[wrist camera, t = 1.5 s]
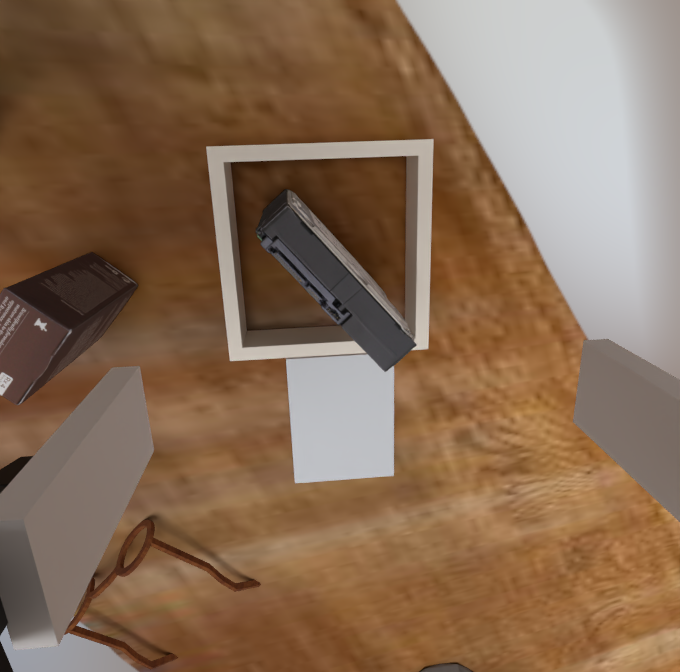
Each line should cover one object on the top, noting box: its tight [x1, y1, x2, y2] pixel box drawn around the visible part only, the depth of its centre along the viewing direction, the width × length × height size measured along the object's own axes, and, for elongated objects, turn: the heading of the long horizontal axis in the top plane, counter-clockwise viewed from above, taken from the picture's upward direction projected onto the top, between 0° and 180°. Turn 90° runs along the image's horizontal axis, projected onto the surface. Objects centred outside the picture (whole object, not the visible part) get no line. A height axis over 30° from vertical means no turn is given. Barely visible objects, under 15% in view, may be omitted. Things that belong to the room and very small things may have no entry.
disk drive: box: [256, 189, 417, 372], centre depth 33 cm, size 10×3×15 cm, turn 42°
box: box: [0, 252, 138, 405], centre depth 34 cm, size 6×4×12 cm
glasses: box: [64, 519, 261, 669], centre depth 48 cm, size 13×13×5 cm
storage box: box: [206, 139, 434, 361], centre depth 38 cm, size 15×15×4 cm
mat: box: [286, 353, 394, 483], centre depth 45 cm, size 12×9×1 cm
